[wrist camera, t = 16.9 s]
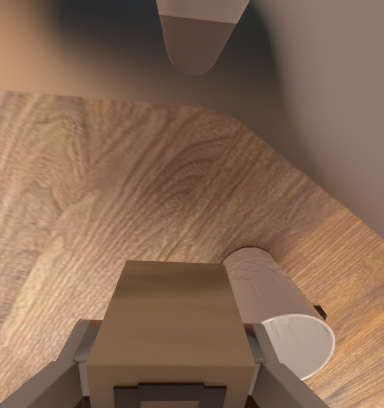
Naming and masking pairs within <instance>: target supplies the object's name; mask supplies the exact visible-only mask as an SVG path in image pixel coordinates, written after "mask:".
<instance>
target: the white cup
mask: <svg viewBox="0 0 384 408" xmlns="http://www.w3.org/2000/svg"><path fill="white" fill-rule="evenodd" d="M222 264H224V265H225V268H226V271H227V274H228V277H229V281H230V284H231V287H232V290H233V293H234V297H235V300H236V303H237V306H238V310H239V313H240V316H241V319H242V322H243V323H259V324H263V325H264V326H265V329H266V331H267V333H268V336H269V338H270V341H271V343H272V345H273V348H274V350H275V352H276V355H277V357H278V360H279V362H280V363H284V364H285V365H286V366H287V367H288V368H289V369H290V370H291V371H292V372H293V373H294V374H295V375H296V376H297V377H298V378H299V379H300V380H301V381H303V380H305V379H307V378H309V377H311V376H312V375H314V374H316V373H317V372H318V371H320V370H321V369H322V368H323V367H324V366H325V365H326V364H327V363H328V361H329V360H330V358H331V357H332V355H333V352H334V349H335V336H334V333H333V331H332V329H331V328H330V327H329V325H328V324H327V323H326V322H325V320H324V319H323V318H322V317H321V315H320V314H319V313H318V312H317V310H316V309H315V308H314V307H313V305H312V304H311V303H310V302H309V300H308V299H307V298H306V297H305V295H304V294H303V293H302V292H301V290H300V289H299V288H298V287H297V285H296V284H295V283H294V282H293V280H292V279H291V278H290V277H289V276H288V275H287V273H286V272H285V271H284V270H283V269H282V268H281V267H280V266H279V265H278V264H277V263H276V262H275V261H274V259H273V258H272V257H271V256H270V254H269V253H268V252H266V251H264V250H262V249H259V248H257V247H251V248H242V249H239V250H237V251H235V252H232V253H231V254H230V255H229V256H228V257H227V258H226V259H225V260H224V261H223V263H222Z"/></svg>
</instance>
